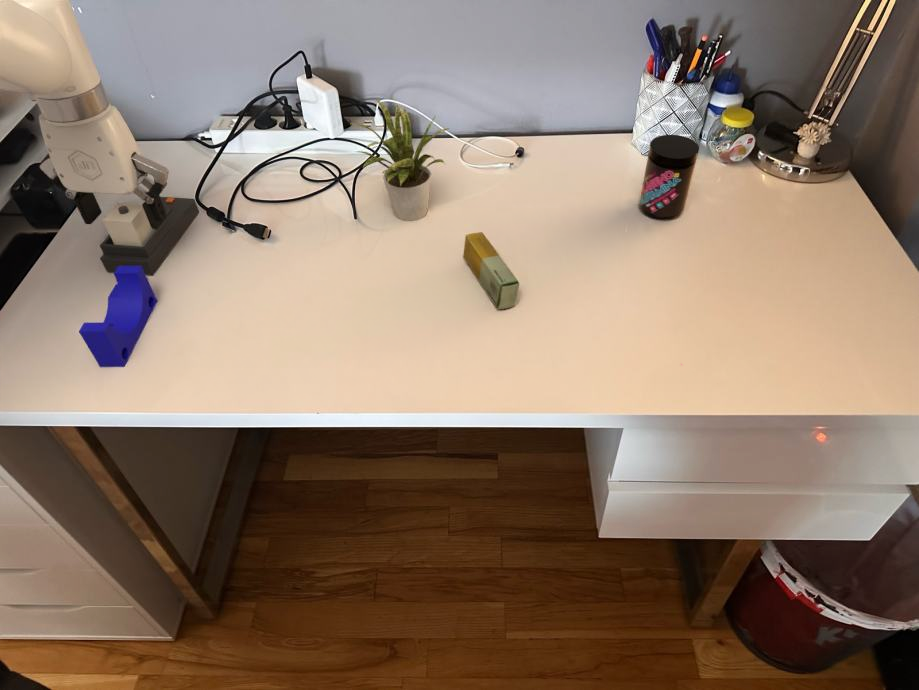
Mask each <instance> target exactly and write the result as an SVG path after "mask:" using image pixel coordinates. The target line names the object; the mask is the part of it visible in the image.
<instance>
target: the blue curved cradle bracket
mask: <svg viewBox="0 0 919 690" xmlns="http://www.w3.org/2000/svg"><path fill="white" fill-rule="evenodd" d="M113 276H114V277H115V281H116V283H115V285H114V286H113V287H112V290H111V291H110V293H109V295H108V297H107V308H106V314H105V317H104V320H103V321H102V322H99V321H98V322H83V324H82V325H81V327H80V329H79V331H78V333H79V334H80V336H81V338H82V340H83V341H84V343H85V345H86V346H87V348H88V349H89V351H90V353H91V355H92V356H93V358H94V360H95V361H96V363H97V364H98V367H100V368H124V367H126V365H127V362H128V360H129V359H130V357H131V354H132V353H133V350H134V349H135V347H136V344H137V342H138V341H139V339H140V337H141V335H142V333H143V330H144V329H145V327H146V325H147V323H148V321H149V319H150V317H151V315H152V313H153V311H154V309H155V307H156V305H157V303H158V299H157V297H156V294H155V293H154V290H153V287H152V285H151V284H150V281H149V279H148V277H147V275H145V273H144V271H143V268H142V266H118V267H117V269H116V270H115V272H114V273H113Z"/></svg>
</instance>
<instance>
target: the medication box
mask: <svg viewBox="0 0 919 690" xmlns="http://www.w3.org/2000/svg"><path fill="white" fill-rule="evenodd" d="M464 237H465V240H464V246H463V256H462V258H463V259H464V260H465V262H466V264H467V265H468V267H469V268H470V271H472V273H473V275H474V276H475V277H476V280H478V282H479V284H480V285H481V286H482V289H483V290H484V291H485V293H486V294H487V296H488V297H489V299H490V300H491V302H492V303H493V305H494V307H495V308H496V309H497V311H502V310H503V311H504V310H509V309H512V308H514V307H516V303H517V297H518V293H519V288H520V282H519V280H518V279H517V277H516V276H515V275H514V273H513V272H512V271H511V269H510V268H509V267H508V264H506V263H505V261H504V259H503V258H502V257H501V256H500V254H499V253H498V251H497V250H496V249H495V248H494V246H493V244H492V243H491V242H490V241H489V239H488V237H486V235H485V234H484V232H482V231H480V232H472V233H468V234H465V236H464Z"/></svg>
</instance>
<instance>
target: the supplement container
mask: <svg viewBox="0 0 919 690" xmlns="http://www.w3.org/2000/svg"><path fill="white" fill-rule="evenodd" d="M699 152H700V146H699V144H698V143H697V142H696V141H695V140H693V139H691V138H690V137H687V136H684V135H679V134H663V135H658V136H656V137H654V138H653V139H651V141H650V143H649V148H648V153H647V159H646V164H645V169H644V175H643V180H642V185H641V191H640V196H639V201H638V205H639V209H640V210H641V212H642V213H643V214H644V215H645V216H647V217H648V218H651V219H654V220H658V221H669V220H674V219H676V218H678V217H680V216H681V215H682V214H683V213H684V211H685V207H686V203H687V201H688V196H689V191H690V187H691V183H692V179H693V175H694V170H695V167H696V164H697V160H698V156H699Z"/></svg>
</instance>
